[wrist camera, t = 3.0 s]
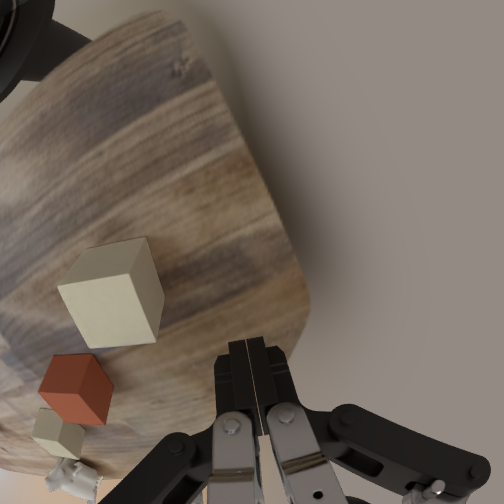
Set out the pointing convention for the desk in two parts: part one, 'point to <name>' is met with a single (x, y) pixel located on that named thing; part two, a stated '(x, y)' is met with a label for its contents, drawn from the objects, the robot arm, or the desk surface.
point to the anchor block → (77, 389)
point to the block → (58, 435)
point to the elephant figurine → (74, 479)
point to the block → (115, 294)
